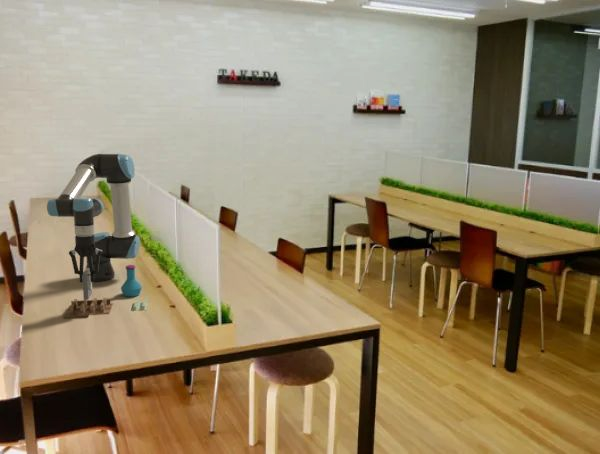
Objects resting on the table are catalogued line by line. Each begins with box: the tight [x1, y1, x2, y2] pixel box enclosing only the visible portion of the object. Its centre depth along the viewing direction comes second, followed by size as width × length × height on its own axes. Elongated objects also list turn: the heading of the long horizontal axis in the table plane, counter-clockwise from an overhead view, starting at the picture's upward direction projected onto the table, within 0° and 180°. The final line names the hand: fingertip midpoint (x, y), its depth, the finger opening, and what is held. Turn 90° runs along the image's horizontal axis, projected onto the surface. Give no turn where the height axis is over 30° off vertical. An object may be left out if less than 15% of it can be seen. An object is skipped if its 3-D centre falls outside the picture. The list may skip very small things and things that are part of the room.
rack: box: [62, 297, 114, 319], centre depth 235 cm, size 13×18×4 cm
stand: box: [131, 298, 149, 312], centre depth 241 cm, size 11×6×3 cm, turn 12°
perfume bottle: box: [120, 264, 143, 298], centre depth 256 cm, size 9×9×15 cm
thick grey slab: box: [82, 267, 93, 300], centre depth 233 cm, size 10×2×11 cm, turn 12°
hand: (87, 289), depth 234 cm, fingers closed on thick grey slab, 2 cm apart
